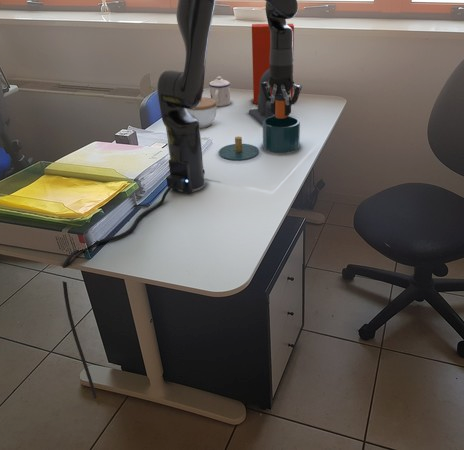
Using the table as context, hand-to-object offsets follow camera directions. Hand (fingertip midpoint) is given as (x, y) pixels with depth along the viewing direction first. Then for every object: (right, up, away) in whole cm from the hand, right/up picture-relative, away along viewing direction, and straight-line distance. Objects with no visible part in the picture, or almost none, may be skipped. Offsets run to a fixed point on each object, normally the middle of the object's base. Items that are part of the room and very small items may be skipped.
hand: (281, 114), depth 157 cm
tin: (0, -10, +6) cm, 12 cm away
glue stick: (0, -1, 0) cm, 1 cm away
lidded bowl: (-31, +2, +27) cm, 41 cm away
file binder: (-2, +18, +53) cm, 56 cm away
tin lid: (-14, -13, +1) cm, 19 cm away
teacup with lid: (-26, +16, +50) cm, 58 cm away
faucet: (-2, +7, +34) cm, 35 cm away
